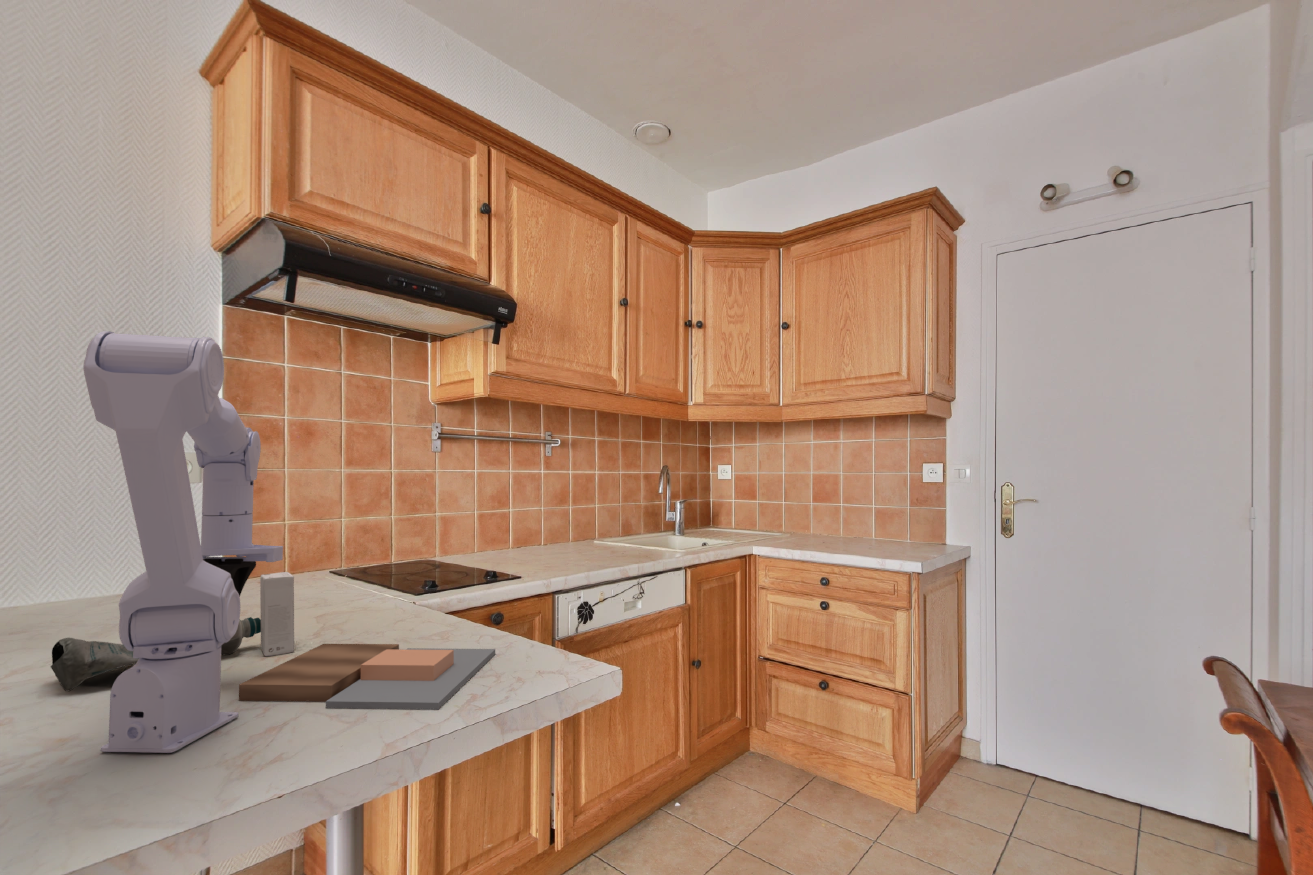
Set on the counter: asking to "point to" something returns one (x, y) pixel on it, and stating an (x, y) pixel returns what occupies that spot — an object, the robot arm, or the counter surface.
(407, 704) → the mat
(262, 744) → the counter surface
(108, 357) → the robot arm
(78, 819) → the counter surface
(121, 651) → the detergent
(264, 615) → the skincare box
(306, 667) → the deck
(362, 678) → the tile
